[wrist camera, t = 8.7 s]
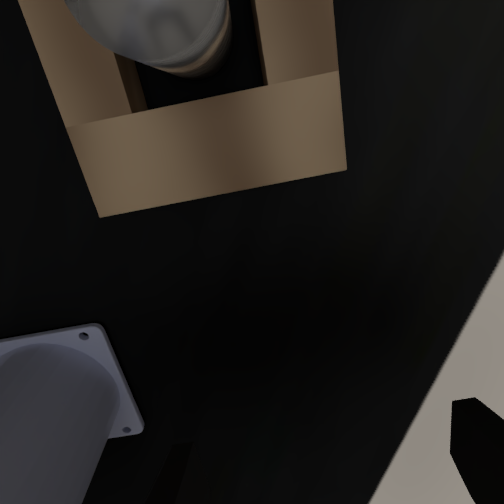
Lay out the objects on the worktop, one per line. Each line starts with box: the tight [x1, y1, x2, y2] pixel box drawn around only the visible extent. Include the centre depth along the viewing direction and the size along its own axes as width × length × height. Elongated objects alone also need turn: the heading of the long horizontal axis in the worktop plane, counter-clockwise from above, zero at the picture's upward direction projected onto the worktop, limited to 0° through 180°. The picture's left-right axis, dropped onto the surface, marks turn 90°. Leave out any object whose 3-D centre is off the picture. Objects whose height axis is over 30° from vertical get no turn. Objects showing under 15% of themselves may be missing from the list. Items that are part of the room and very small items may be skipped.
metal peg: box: [64, 0, 233, 80], centre depth 10 cm, size 3×3×8 cm
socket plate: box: [18, 0, 347, 217], centre depth 13 cm, size 10×12×2 cm
